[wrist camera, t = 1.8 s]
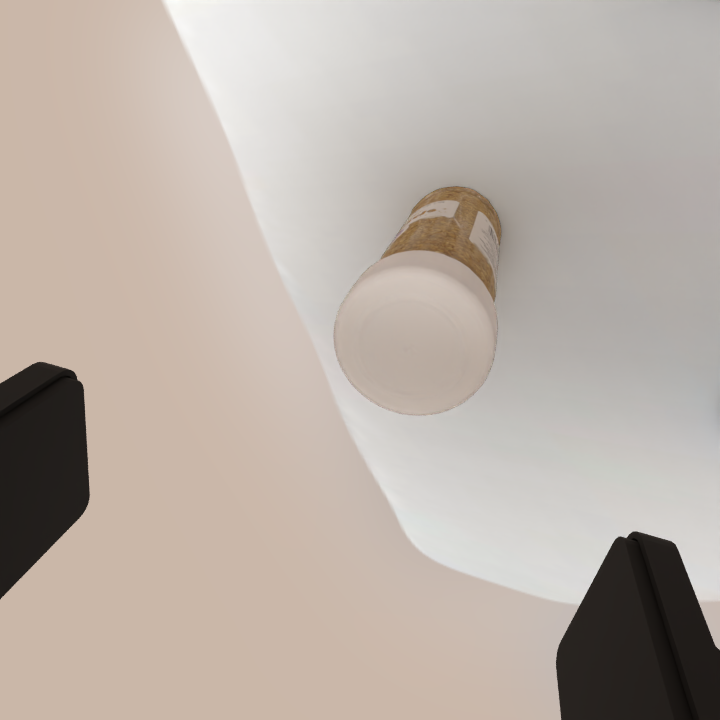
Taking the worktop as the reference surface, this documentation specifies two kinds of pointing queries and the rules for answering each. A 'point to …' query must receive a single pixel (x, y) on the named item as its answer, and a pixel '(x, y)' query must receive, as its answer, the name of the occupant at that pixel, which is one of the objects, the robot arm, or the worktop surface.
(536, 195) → the worktop surface
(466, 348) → the sprinkles bottle
